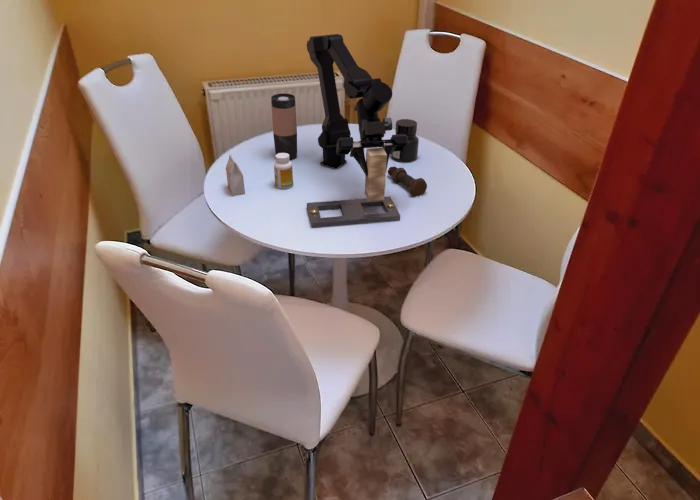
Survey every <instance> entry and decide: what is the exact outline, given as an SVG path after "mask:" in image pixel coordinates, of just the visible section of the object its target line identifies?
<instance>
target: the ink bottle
mask: <svg viewBox="0 0 700 500" xmlns="http://www.w3.org/2000/svg"><path fill="white" fill-rule="evenodd" d="M417 127H418V122H417V121H415V120H413V119H410V118H409V119H408V118H401V119H398V120H396V121H395V134H394V135H397V134H405V135H406V136H407V137H408V142H409V143H408V145H407V146H406V148H405V149H404V150H403V151H394V152H393V153H392V154H391V155H390V157H391V159H393V161H396V162H402V163H409V162H414V161H416V160H417V158H418V153H419V142H420V141H419V137H418V136H417V135H416V134H417V131H418V130H417Z"/></svg>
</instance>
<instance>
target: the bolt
mask: <svg viewBox="0 0 700 500" xmlns="http://www.w3.org/2000/svg"><path fill="white" fill-rule="evenodd" d="M387 175H388V176H390V177H391V178H392V180H393V182H394V183H396V184H402V185H403V186H404V187H407V188H408V190H409V192H410V194H411V196H413V197H415V198H416V196H418V197H421V196H423V195H424V194H425V193H426V191H427V188H428V184H427V182H426V180H425V178H422V177H419V178H414V177H413V176H411V175H409V174H408V172H407V171H406V169H405V168H404V167H397V166H389V168H388V169H387ZM420 195H421V196H420Z"/></svg>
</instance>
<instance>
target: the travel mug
mask: <svg viewBox="0 0 700 500" xmlns="http://www.w3.org/2000/svg"><path fill="white" fill-rule="evenodd" d="M270 99H271V115H272V116H271V117H272V119H271V120H272V133H273V143H274V152H275V154H274V155H276V154H278V153H287V154H289V158H290V159H289V161H291V162H292V161H294V160H296V159H297V158H298V125H297V111H296V110H297V109H296V107H297V106H296V105H297V104H296V96H295V95H294V94H291V93H282V92H281V93H277V94H273V95H271V98H270Z"/></svg>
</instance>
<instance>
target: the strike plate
mask: <svg viewBox="0 0 700 500" xmlns="http://www.w3.org/2000/svg"><path fill="white" fill-rule="evenodd" d="M370 207H372V208H373V207H383V209H384V212H376V213H375V212H374V213H365V211H364V208H370ZM306 210H307V213H308V214H307V215H308V219H309V223H310V227H311V229H317V228H318V229H319V228H328V227H329V228H330V227H339V226H353V225H362V224H363V225H365V224H373V223H374V224H375V223H386V222H398V221H401V214H400V212H399V210H398V208H397V207H396V204H395V203H394V201H393V198H392V196H391V195H390V196H384V200H371V201H368V199H367V197H365V198H355V199H354V198H352V199H338V200H328V201H325V200H324V201H313V202H306ZM332 210H333V211H334V210H335V211H336V210H340V211H341V214H342V215H339V216H327V217H321V214H320V212H321V211H332Z"/></svg>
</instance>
